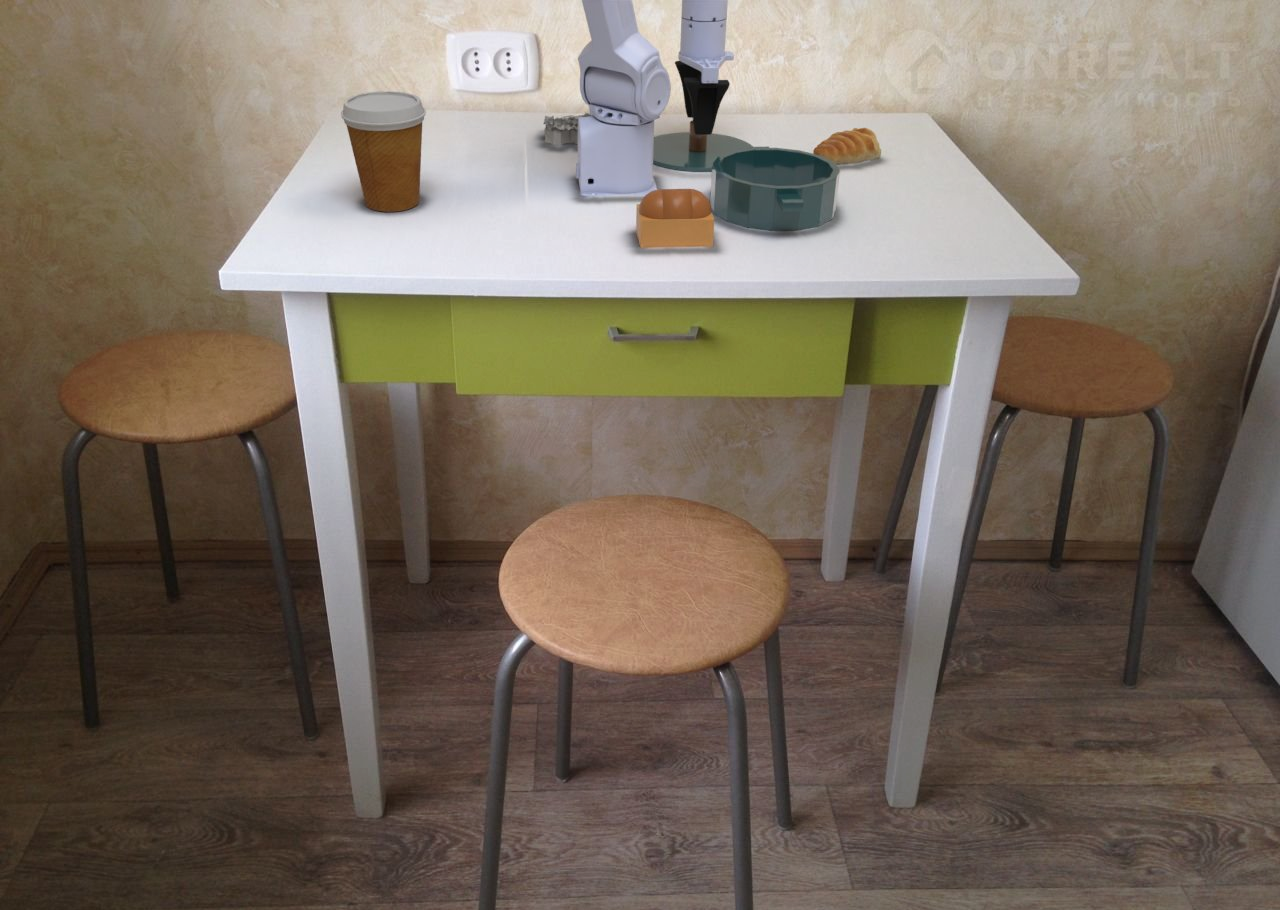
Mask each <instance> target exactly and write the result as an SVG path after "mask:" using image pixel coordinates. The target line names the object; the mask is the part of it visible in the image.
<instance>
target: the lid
mask: <svg viewBox="0 0 1280 910" xmlns="http://www.w3.org/2000/svg"><path fill="white" fill-rule="evenodd" d="M688 129H689V131H683V132H681V131H680V132H672V133H671V132H670V133H664V134H659V135H654V147H653V165H656V166H658V167H661V168H666V169H670V170H676V171H685V172H695V173H696V172H699V173H701V172H702V173H704V172H705V173H709V172H711V173H712V164H713V162H714V161H715V160H716V159H717V157H718V156H721V155H723V154H726V153H729V152H731V151H735V150H742V149H749V148H750V147H754V146H753V145H752V144H751V143H749V142H748V141H746V140H743V139H740V138H737V137H734V136H729V135H725V134H720V133H713V132H712V134H711V135H696V134H695V130H694V125H693V119H692V120H690V121H689V128H688Z"/></svg>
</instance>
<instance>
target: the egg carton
mask: <svg viewBox="0 0 1280 910" xmlns="http://www.w3.org/2000/svg"><path fill="white" fill-rule="evenodd" d="M588 116H593V115H591V114H590V112H585V113H584V114H581V115H572V114H571V115H563V116H561V117H555V116H554V115H552V116H549V115H545V116H544V119H543V125H545V127H544V143H545V144H551V145H553V146H557V147H558V146H559V147H560V146H562V145H564V144H574V145H578V118H580V117H588Z"/></svg>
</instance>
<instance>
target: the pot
mask: <svg viewBox="0 0 1280 910" xmlns="http://www.w3.org/2000/svg"><path fill="white" fill-rule="evenodd" d="M840 176H841V170H840V168H839V167H838V166H837V165H836V164H835V163H834V162H832V161H830V160H828V159H826V158H824V157H822V156H820V155H816V154H813V153H812V152H807V151H804V150H800V149H790V148H781V147H769V146H753V147H750V148H749V149H742V150H735V151H731V152H729V153H726V154H723V155H721V156H718V157H717V159H716V160H715V161H714V162H713V164H712V171H711V180H710V181H711V182H710V199H709V202H710V205H711V211H712V212H713V213H714V214H715V215H716V216H717V217H719V218H720V219H721V220H723V221H725V222H728V223H730V224H732V225H735V226H741V227H743V228H748V229H753V230H758V231H759V230H761V231H772V232H792V231H795V232H796V231H803V230H809V229H814V228H818V227H821V226H823V225H825V224H827V223H828V222H830V221H832V220H833V218H834V216H835V213H836V210H837V201H838V193H839V186H840V185H839V184H840Z"/></svg>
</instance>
